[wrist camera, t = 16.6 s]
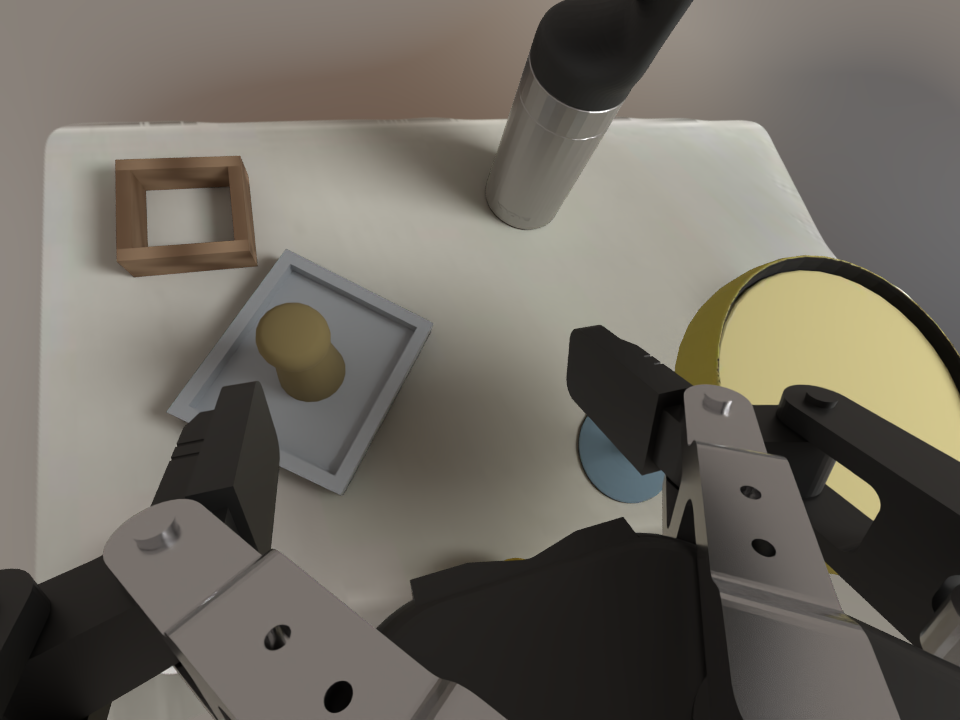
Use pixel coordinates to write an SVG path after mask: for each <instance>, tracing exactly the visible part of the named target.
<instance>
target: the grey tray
mask: <svg viewBox="0 0 960 720" xmlns="http://www.w3.org/2000/svg"><path fill="white" fill-rule="evenodd" d="M284 303H301V304H305V305H309V306H310V307H312V308H313V309H315V310H317V311H318V312H319V313H320V314H321V315H322V316H323V317H324V318H325V320H326V321H327V324H328V326H329V329H330V332H331V343H332V344H333V346H334V347H335V348H336V349H337V350H338V352H339V353H340V354H341V355H342V357H343V360H344V362H345V377H344V380H343V383H342V385H341V386H340V387H339V389H338V390H337V391H336V392H335V393H334V394H333V395H331V396H330V397H328V398H326V399H323V400H321V401H318V402H304V401H300V400H296V399H294V398H293V397H291V396H290V395H288V394H287V393H286V392H285V390H284V389H283V388H282V387H281V384H280V382H279V379H278V375H277V372H276V368H275V367H273V366H272V365H270V364H269V363H267V362H266V360H265V359H264V358H263V357H262V355H261V354H260V353H259V351H258V348H257V345H256V328H257V325H258V323H259V321H260V319H261V318H262V317H263V316H264V314H265V313H266V312H267V311H269V310H270V309H272V308H274V307H275V306H277V305H281V304H284ZM432 326H433V323H432V322H430V321H428V320H426V319H424V318H423V317H421V316H419V315H417V314H415V313H413V312H411V311H409V310H407V309H405V308H403V307H401V306H399V305H397V304H395V303H393V302H391V301H389V300H387V299H385V298H383V297H381V296H379V295H377V294H375V293H373V292H371V291H369V290H367V289H365V288H363V287H361V286H359V285H357V284H355V283H353V282H351V281H349V280H347V279H345V278H343V277H341V276H339V275H337V274H335V273H333V272H331V271H329V270H327V269H325V268H323V267H321V266H319V265H317V264H315V263H313V262H311V261H309V260H307V259H305V258H303V257H301V256H299V255H297V254H296V253H294V252H292V251H290V250H288V249H286V250H285V251H284V252H283V254H282V255H281V256H280V258H279V259H278V261H277V262H276V263H275V265H274V266H273V267H272V269H271V270H270V271H269V273H268V274H267V276H266V277H265V278H264V280H263V281H262V282H261V284H260V285H259V286H258V288H257V289H256V290H255V292H254V293H253V295H252V296H251V297H250V299H249V300H248V301H247V303H246V304H245V305H244V307H243V308H242V309H241V311H240V312H239V314H238V315H237V316H236V318H235V319H234V320H233V322H232V323H231V324H230V326H229V327H228V329H227V330H226V331H225V333H224V334H223V335H222V337H221V338H220V339H219V341H218V342H217V343H216V345H215V346H214V348H213V349H212V350H211V352H210V353H209V354H208V356H207V357H206V358H205V360H204V361H203V363H202V364H201V365H200V367H199V368H198V369H197V371H196V372H195V373H194V375H193V376H192V377H191V379H190V380H189V382H188V383H187V384H186V386H185V387H184V388H183V390H182V391H181V392H180V394H179V395H178V396H177V398H176V399H175V401H174V402H173V403H172V405H171V406H170V407H169V409H168V410H167V411H166V412H167V413H169V414H171V415H173V416H175V417H177V418H179V419H182V420H184V421H186V422H188V423H189V422H190V421H191V420H192V419H193V418H194V417H195V416H196V415H197V414H198V413H199V412H203V411H209V410H214V409H215V406H216V403H217V400H218V397H219V394H220V391H221V388H222V387H223V386H228V385H234V384H240V383H246V382H253V381H259V382H260V383H261V385H262V388H263V391H264V394H265V397H266V401H267V404H268V407H269V411H270V414H271V417H272V420H273V424H274V427H275V430H276V434H277V438H278V443H279V450H280V463H279V466H280V467H283V468H285V469H287V470H289V471H291V472H293V473H295V474H297V475H299V476H301V477H304V478H306V479H308V480H310V481H312V482H314V483H316V484H318V485H320V486H322V487H325V488H327V489H329V490H331V491H333V492H335V493H337V494H339V495H344V493H345V491H346V489H347V487H348V485H349V483H350V481H351V480H352V478H353V476H354V474H355V472H356V470H357V468H358V467H359V465H360V463H361V461H362V459H363V457H364V455H365V454H366V452H367V450H368V448H369V446H370V444H371V442H372V441H373V439H374V437H375V435H376V433H377V431H378V429H379V428H380V426H381V424H382V422H383V420H384V418H385V416H386V415H387V413H388V411H389V409H390V407H391V405H392V403H393V401H394V400H395V398H396V396H397V394H398V392H399V390H400V388H401V387H402V385H403V383H404V381H405V379H406V377H407V375H408V374H409V372H410V370H411V368H412V366H413V364H414V362H415V361H416V359H417V357H418V355H419V353H420V351H421V349H422V348H423V346H424V344H425V342H426V340H427V338H428V336H429V334H430V333H431V330H432Z"/></svg>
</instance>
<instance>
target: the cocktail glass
mask: <svg viewBox="0 0 960 720" xmlns="http://www.w3.org/2000/svg"><path fill="white" fill-rule="evenodd" d="M675 373H677V374H678V375H679V376H681V377H682V378H684V379H685V380H686V381H688V382H689V383H691V384H692V385H693V386H695V385H702V384H709V385H717V386H722V387H725V388H728V389H731V390H734V391H736V392H738V393H740V394H742V395H743V396H744V397H746V398H747V399H748V400H749V401H750V402H751V404H752V405H778V404H779V402H780V399H781V396H782V394H783V391H784V389H785V388H787V387H789V386H792V385H812V386H818V387H822V388H826V389H829V390H832V391H834V392H837V393H839V394H841V395H843V396H845V397H847V398H849V399H850V400H852V401H854V402H856V403H857V404H859V405H861V406H863V407H864V408H866V409H868V410H870V411H871V412H873V413H875V414H877V415H878V416H880V417H882V418H884V419H886V420H887V421H889V422H891V423H893V424H894V425H896V426H898V427H900V428H901V429H903V430H905V431H907V432H908V433H910V434H912V435H914V436H915V437H917V438H919V439H921V440H922V441H924V442H926V443H928V444H929V445H931V446H933V447H935V448H937V449H938V450H940V451H942V452H944V453H945V454H947V455H949V456H951V457H952V458H954V459H956V460H958V461H959V462H960V355H959V354H958V352H957V351H956V349H955V348H954V346H953V344H952V343H951V342H950V341H949V339H948V338H947V337H946V335H945V334H944V333H943V331H942V330H941V329H940V328H939V326H938V325H937V324H936V323H935V322H934V321H933V320H932V319H931V317H929V315H928V314H927V313H926V312H925V311H924V310H923V309H922V308H921V307H920V306H919V305H918V304H916V303H915V302H914V301H913V300H912V299H911V298H909V297H908V296H907V295H906V294H905V293H903V292H902V291H901V290H900V289H898V288H897V287H895V286H894V285H892V284H891V283H889V282H888V281H886V280H885V279H884V278H882V277H880V276H878V275H876V274H874V273H872V272H870V271H868V270H867V269H865V268H862V267H860V266H857V265H854V264H852V263H849V262H846V261H843V260H839V259H834V258H830V257H825V256H807V255H803V256H796V257H789V258H782V259H778V260H775V261H773V262H770V263H767V264H764V265H761V266H759V267H756V268H754V269H752V270H749V271H748V272H746V273H744V274H742V275H741V276H739V277H738V278H736V279H734V280H733V281H731V282H730V283H728V284H726V285H725V286H723V287H722V288H721V289H719V290H718V291H717V292H716V293H715V294H714V295H713V296H712V297H711V298H710V299H709V300H708V301H707V302H706V303H705V304H704V305H703V306H702V307H701V308H700V309H699V310H698V312H697V313H696V315H695V316H694V318H693V319H692V321H691V322H690V324H689V326H688V328H687V330H686V333H685V335H684V337H683V340H682V342H681V344H680V347H679V352H678V356H677V360H676V365H675ZM579 454H580V459H581V462H582V465H583V468H584V470H585V472H586V474H587V476H588V477H589V479H590V480H591V482H592V483H593V484H594V485H595V486H596V487H597V488H598V489H599V490H600V491H601V492H602V493H604V494H605V495H607V496H608V497H610V498H612V499H614V500H617V501H620V502H625V503H639V502H644V501H646V500H649V499H651V498H653V497H654V496H656V495H657V494H658V493H659V492H660V491H661V490H662V484H663V479H664V475H665V473H664V472H663V471H662V470H661V471H657V472H654V473H650V474H646V475H643V476H642V475H641V474H640V473H639V472H638V471H637V470H636V469H635V467H634V466H633V465H632V464H631V463H630V462H629V461H628V460H627V459H626V458H625V456H624V455H623V454H622V453H621V452H620V451H619V450H618V449H617V448H616V446H615V445H614V444H613V443H612V442H611V441H610V440H609V439H608V438H607V437H606V435H605V434H604V433H603V432H602V431H601V430H600V429H599V428H598V427H597V426H596V424H595V423H594V422H593V421H592V420H591V419H590V418H589V417H588V416H587V418H586V419H585V421H584V423H583V425H582V428H581V431H580V435H579ZM826 485H828V486H829V487H830V488H832V489H833V490H834V491H835V492H837V493H838V494H839V495H841V496H842V497H843V498H844V499H846V500H847V501H848V502H850V503H851V504H852V505H854V506H855V507H856V508H857V509H859V510H860V511H861V512H863V513H864V514H865V515H866V516H868V517H869V518H870V519H872V520H873V521H874V519H875V518H876V516H877V514H878V512H879V510H880V499H879V497H878V495H877V493H876V491H875V490H874V489H873V488H872V487H871V486H870V485H869V484H868V483H866V482H865V481H864V480H862V479H861V478H859V477H858V476H856V475H855V474H854V473H852V472H851V471H849V470H848V469H847V468H845V467H844V466H842V465H841V464H840V463H838V462H837V461H836V463H835V465H834V467H833V469H832V471H831V473H830V475H829V477H828V479H827V481H826ZM825 564H826V567H827V570H828V573H830V574H836V575H838V574H837V573H836V572H835V571H834V570H833V569H832V568H831V567H830V566H829V565H828V564H827V563H826V562H825Z"/></svg>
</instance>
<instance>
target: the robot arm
mask: <svg viewBox="0 0 960 720" xmlns="http://www.w3.org/2000/svg"><path fill="white" fill-rule="evenodd" d="M692 2H693V0H564V1H562V2H560V3H558V4H556V5H554V6H553V7H552V8H550V9H549V10H548V11H547V12H546V14H545V15H544V17H543V18H542V20H541V21H540V24H539V26H538V28H537V31H536V34H535V37H534V40H533V43H532V46H531V50H530V52H529V55H528V58H527V61H526V64H525V68H524V71H523V74H522V77H521V80H520V83H519V86H518V89H517V92H516V95H515V99H514V102H513V105H512V108H511V111H510V114H509V117H508V120H507V123H506V126H505V129H504V132H503V135H502V138H501V141H500V144H499V147H498V150H497V153H496V156H495V159H494V162H493V165H492V168H491V171H490V174H489V177H488V181H487V184H486V198H487V202H488V204H489V206H490V208H491V209H492V211H493V212H494V214H495V215H496V216H497V217H499V218H500V219H501V220H502V221H504V222H505V223H507V224H509V225H511V226H513V227H516V228H521V229H536V228H540V227H543V226H545V225H546V224H548V223H549V222H551V220H552V219H553V218H554V217H555V215H556V213H557V212H558V210H559V208H560V207H561V205H562V204H563V202H564V200H565V199H566V197H567V196H568V194H569V192H570V191H571V189H572V187H573V186H574V184H575V182H576V181H577V179H578V177H579V176H580V174H581V172H582V171H583V169H584V167H585V166H586V164H587V162H588V161H589V159H590V157H591V156H592V154H593V152H594V151H595V149H596V147H597V146H598V144H599V142H600V141H601V139H602V137H603V136H604V134H605V132H606V131H607V129H608V127H609V126H610V124H611V122H612V120H613V119H614V117H615V116H616V114H617V112H618V110H619V109H620V107H621V106H622V104H623V102H624V101H625V99H626V97H627V96H628V94H629V92H630V91H631V89H632V88H633V86H634V85H635V84H636V83H637V82H638V81H639V80H640V78H641V77H642V76H643V75H644V73H645V72H646V70H647V69H648V67H649V65H650V64H651V63H652V61H653V59H654V58H655V56H656V55H657V53H658V51H659V50H660V49H661V47H662V45H663V44H664V43H665V41H666V40H667V38H668V37H669V35H670V33H671V32H672V31H673V29H674V28H675V26H676V25H677V23H678V22H679V20H680V19H681V17H682V16H683V15H684V13H685V12H686V10H687V9H688V7H689V6H690V5H691V3H692ZM566 380H567V387H568V391H569V394H570V396H571V397H572V399H573V400H574V401H575V402H576V404H577V405H578V406H579V407H580V408H581V409H582V410H583V411H584V412H585V413H586V415H587V416H588V417H589V418H590V419H591V420H592V421H593V422H594V423H595V424H596V426H597V427H598V428H599V429H600V430H601V431H602V432H603V433H604V434H605V435H606V437H607V438H608V439H609V440H610V441H611V442H612V443H613V444H614V445H615V446H616V448H617V449H618V450H619V451H620V452H621V453H622V454H623V455H624V456H625V458H626V459H627V460H628V461H629V462H630V463H631V464H632V465H633V466H634V467H635V469H636V470H637V471H638V472H639V473H640V474H641V475H642V476H643V475H646V474H650V473H654V472H657V471H661V470H662V471H663V472H664V473H665V475H664V479H663V484H662V535H659V534H652V533H635V532H634V530H633V529H632V528H631V526H630V525H629V524H628V523H627V521H626V520H625V519H624V517H621V518H618V519H614V520H611V521H608V522H604V523H601V524H597V525H594V526H591V527H587V528H584V529H581V530H577V531H575V532H573V533H572V534H570V535H568V536H567V537H565V538H564V539H562V540H560V541H559V542H557V543H556V544H554V545H552V546H551V547H549V548H547V549H546V550H544V551H543V552H541V553H539V554H538V555H536V556H534V557H532V558H530V559H525V560H510V561H492V562H475V563H466V564H463V565H459V566H456V567H452V568H449V569H446V570H442V571H439V572H436V573H432V574H429V575H425V576H422V577H419V578H415V579H412V580H410V583H411V590H412V596H413V600H411V601H410V602H408V603H406V604H405V605H403V606H402V607H400V608H399V609H398V610H396V611H395V612H394V613H392V614H391V615H390V616H389V617H388V618H387V619H385V620H384V621H383V622H382V623H381V624H380V625H379V626H378V627H377V628H374V627H373V626H372V625H371V624H369V623H368V622H367V621H366V620H364V619H363V618H362V617H361V616H359V615H358V614H357V613H356V612H354V611H353V610H352V609H351V608H350V607H348V606H347V605H346V604H345V603H343V602H342V601H341V600H340V599H338V598H337V597H336V596H335V595H333V594H332V593H331V592H330V591H328V590H327V589H326V588H325V587H323V586H322V585H321V584H320V583H319V582H317V581H316V580H315V579H314V578H312V577H311V576H310V575H309V574H307V573H306V572H305V571H304V570H302V569H301V568H300V567H299V566H297V565H296V564H295V563H294V562H292V561H291V560H290V559H289V558H287V557H286V556H285V555H284V554H282V553H281V552H279V551H278V550H275V549H271V543H272V533H273V523H274V513H275V503H276V493H277V483H278V473H279V463H280V450H279V443H278V438H277V434H276V430H275V427H274V424H273V420H272V417H271V414H270V411H269V407H268V404H267V401H266V397H265V394H264V391H263V388H262V385H261V383H260V382H259V381H253V382H246V383H240V384H234V385H228V386H223V387H222V388H221V391H220V394H219V397H218V400H217V403H216V406H215V409H214V410H209V411H203V412H199V413H198V414H197V415H196V416H195V417H194V418H193V419H192V420H191V421H190V422H189V423H188V424H187V425H186V426H185V427H184V428H183V430H182V433H181V435H180V437H179V440H178V442H177V447H175V449H174V452H173V454H172V456H171V459H172V461H169V464H168V466H167V468H166V471H165V473H164V476H163V478H162V480H161V483H160V485H159V488H158V490H157V492H156V495H155V497H154V500H153V502H152V504H151V507H149V508H147V509H145V510H143V511H141V512H139V513H137V514H136V515H134V516H133V517H131V518H130V519H128V520H127V521H126V522H124V523H123V524H122V525H121V526H120V527H119V528H118V529H117V530H116V531H115V532H114V533H113V534H112V535H111V537H110V538H109V540H108V541H107V543H106V545H105V547H104V551H103V555H102V556H100V557H98V558H96V559H94V560H92V561H90V562H88V563H86V564H83V565H81V566H79V567H77V568H74V569H72V570H70V571H68V572H65V573H63V574H61V575H58V576H56V577H54V578H52V579H49V580H47V581H45V582H43V583H40V584H37V583H36V582H35V581H34V579H33V578H32V577H31V575H30V574H29V573H27V572H26V571H23V570H20V569H4V570H0V720H107V717H108V714H109V710H110V707H111V703H112V701H114V700H116V699H117V698H119V697H121V696H122V695H124V694H126V693H128V692H129V691H131V690H133V689H134V688H136V687H138V686H139V685H141V684H143V683H145V682H146V681H148V680H150V679H151V678H153V677H155V676H157V675H158V674H160V673H162V672H163V671H165V670H167V669H169V668H170V667H172V666H173V668H174V669H175V670H176V671H177V673H178V674H179V675H180V677H181V678H182V679H183V680H184V682H185V683H186V684H187V686H188V687H189V688H190V689H191V691H192V692H193V693H194V695H195V696H196V697H197V698H198V700H199V701H200V702H201V704H202V705H203V706H204V708H205V709H206V710H207V711H208V713H209V714H210V715H211V716H212V718H213V719H214V720H960V462H959V461H958V460H956V459H954V458H952V457H951V456H949V455H947V454H945V453H944V452H942V451H940V450H938V449H937V448H935V447H933V446H931V445H929V444H928V443H926V442H924V441H922V440H921V439H919V438H917V437H915V436H914V435H912V434H910V433H908V432H907V431H905V430H903V429H901V428H900V427H898V426H896V425H894V424H893V423H891V422H889V421H887V420H886V419H884V418H882V417H880V416H878V415H877V414H875V413H873V412H871V411H870V410H868V409H866V408H864V407H863V406H861V405H859V404H857V403H856V402H854V401H852V400H850V399H849V398H847V397H845V396H843V395H841V394H839V393H837V392H834V391H832V390H829V389H826V388H822V387H818V386H812V385H792V386H789V387H787V388H785V389H784V391H783V394H782V396H781V399H780V402H779V404H778V405H752V404H751V402H750V401H749V400H748V399H747V398H746V397H744V396H743V395H742V394H740V393H738V392H736V391H734V390H731V389H728V388H725V387H722V386H717V385H709V384H702V385H695V386H693V385H692V384H691V383H689V382H688V381H686V380H685V379H684V378H682V377H681V376H679V375H678V374H677V373H675V372H674V371H672V370H671V369H670V368H668V367H667V366H665V365H664V364H660V361H658V360H657V359H656V358H654V357H653V356H651V357H650V354H649V353H647V352H646V351H644V350H643V349H642V348H640V347H639V346H637V345H635V344H632V343H630V342H627V341H625V340H622V339H620V338H618V337H617V336H616V335H614V334H613V333H611V332H610V331H609V330H607V329H606V328H605V327H603V326H602V325H596V326H589V327H583V328H577V329H574V330H573V331H572V333H571V335H570V343H569V354H568V366H567V379H566ZM836 461H837V462H838V463H840V464H841V465H842V466H844V467H845V468H847V469H848V470H849V471H851V472H852V473H854V474H855V475H856V476H858V477H859V478H861V479H862V480H864V481H865V482H866V483H868V484H869V485H870V486H871V487H872V488H873V489H874V490H875V491H876V493H877V495H878V497H879V499H880V510H879V512H878V514H877V516H876V518H875V519H874V521H873V520H872V519H870V518H869V517H868V516H866V515H865V514H864V513H863V512H861V511H860V510H859V509H857V508H856V507H855V506H854V505H852V504H851V503H850V502H848V501H847V500H846V499H844V498H843V497H842V496H841V495H839V494H838V493H837V492H835V491H834V490H833V489H832V488H830V487H829V486H828V485H826V481H827V479H828V477H829V475H830V473H831V471H832V469H833V467H834V465H835V463H836ZM825 562H826V563H827V564H828V565H829V566H830V567H831V568H832V569H833V570H834V571H835V572H836V573H837V574H838V575H839V576H840V577H842V578H843V579H844V580H845V581H846V582H847V583H848V584H849V585H850V586H851V587H852V588H853V589H854V590H856V592H858V593H859V594H860V595H861V596H862V597H863V598H864V599H865V600H866V601H867V602H868V603H869V604H870V605H871V606H872V607H873V608H874V609H876V610H877V611H878V612H879V613H880V614H881V615H882V616H883V617H884V618H885V619H886V620H887V621H888V622H889V623H891V624H892V625H893V626H894V627H895V628H896V629H897V630H898V631H899V632H900V633H901V634H902V635H903V636H904V637H905V638H906V639H907V640H909V641H910V642H911V643H912V644H913V645H911V644H909V643H907V642H905V641H903V640H901V639H898V638H896V637H894V636H892V635H890V634H888V633H885V632H883V631H881V630H879V629H877V628H875V627H872V626H870V625H868V624H866V623H864V622H862V621H859V620H857V619H855V618H853V617H851V616H848V615H846V614H845V613H844V612H843V610H842V608H841V606H840V603H839V600H838V598H837V595H836V592H835V589H834V587H833V584H832V581H831V578H830V575H829V573H828V570H827V567H826V564H825Z"/></svg>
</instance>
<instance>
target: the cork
mask: <svg viewBox="0 0 960 720" xmlns="http://www.w3.org/2000/svg"><path fill="white" fill-rule="evenodd" d="M256 345H257V348H258V351H259V353H260V354H261V355H262V357H263V358H264V359H265V360H266V362H267V363H269V364H270V365H272V366H273V367H275V368H276V372H277V375H278V379H279V382H280V384H281V387H282V388H283V389H284V390H285V392H286V393H287V394H288V395H290V396H291V397H293V398H294V399H296V400H300V401H304V402H318V401H321V400H323V399H326V398H328V397H330V396H331V395H333V394H334V393H335V392H336V391H337V390H338V389H339V387H340V386H341V385H342V383H343V380H344V377H345V362H344V360H343V357H342V355H341V354H340V353H339V352H338V350H337V349H336V348H335V347H334V346H333V344H332V343H331V332H330V329H329V326H328V324H327V321H326V320H325V318H324V317H323V316H322V315H321V314H320V313H319V312H318V311H317V310H315V309H313V308H312V307H310V306H309V305H305V304H301V303H284V304H281V305H277V306H275V307H274V308H272V309H270V310H269V311H267V312H266V313H265V314H264V316H263V317H262V318H261V319H260V321H259V323H258V325H257V328H256Z"/></svg>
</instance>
